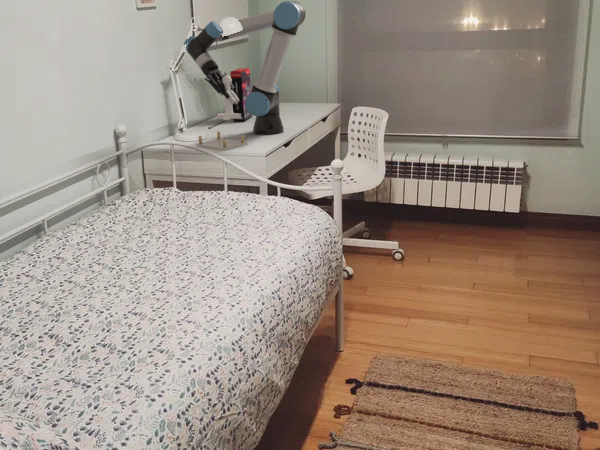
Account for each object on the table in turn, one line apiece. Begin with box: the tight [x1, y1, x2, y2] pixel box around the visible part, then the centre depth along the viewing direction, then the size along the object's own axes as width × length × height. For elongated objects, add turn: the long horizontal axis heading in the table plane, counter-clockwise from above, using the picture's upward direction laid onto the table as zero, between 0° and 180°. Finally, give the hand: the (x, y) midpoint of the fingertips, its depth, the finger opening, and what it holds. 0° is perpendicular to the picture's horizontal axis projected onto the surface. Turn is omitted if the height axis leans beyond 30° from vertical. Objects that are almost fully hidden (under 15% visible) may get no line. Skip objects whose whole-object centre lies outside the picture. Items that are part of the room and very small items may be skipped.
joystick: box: [216, 74, 241, 121], centre depth 321 cm, size 11×8×20 cm
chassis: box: [195, 131, 249, 152], centre depth 315 cm, size 16×17×5 cm
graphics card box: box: [230, 67, 254, 123], centre depth 379 cm, size 17×7×27 cm, turn 168°
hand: (235, 102), depth 321 cm, fingers closed on joystick, 2 cm apart
